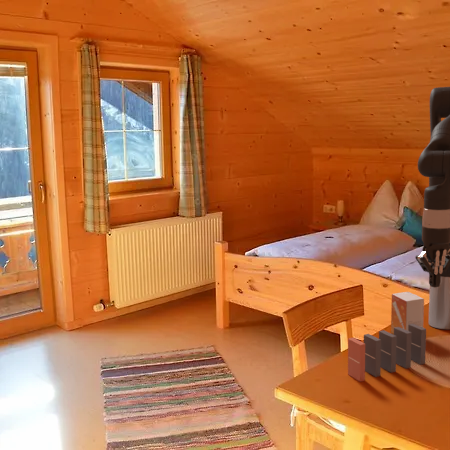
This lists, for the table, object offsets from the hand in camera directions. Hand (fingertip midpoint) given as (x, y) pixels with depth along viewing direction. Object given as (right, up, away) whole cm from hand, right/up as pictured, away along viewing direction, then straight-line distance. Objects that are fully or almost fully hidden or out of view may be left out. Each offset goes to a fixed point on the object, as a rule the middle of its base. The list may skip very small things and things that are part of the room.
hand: (434, 286), depth 159 cm
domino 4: (-9, -21, -1) cm, 23 cm away
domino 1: (-23, -23, -8) cm, 34 cm away
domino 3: (-14, -22, -3) cm, 26 cm away
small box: (-2, -18, +19) cm, 26 cm away
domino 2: (-19, -22, -6) cm, 30 cm away
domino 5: (-5, -21, +1) cm, 21 cm away
